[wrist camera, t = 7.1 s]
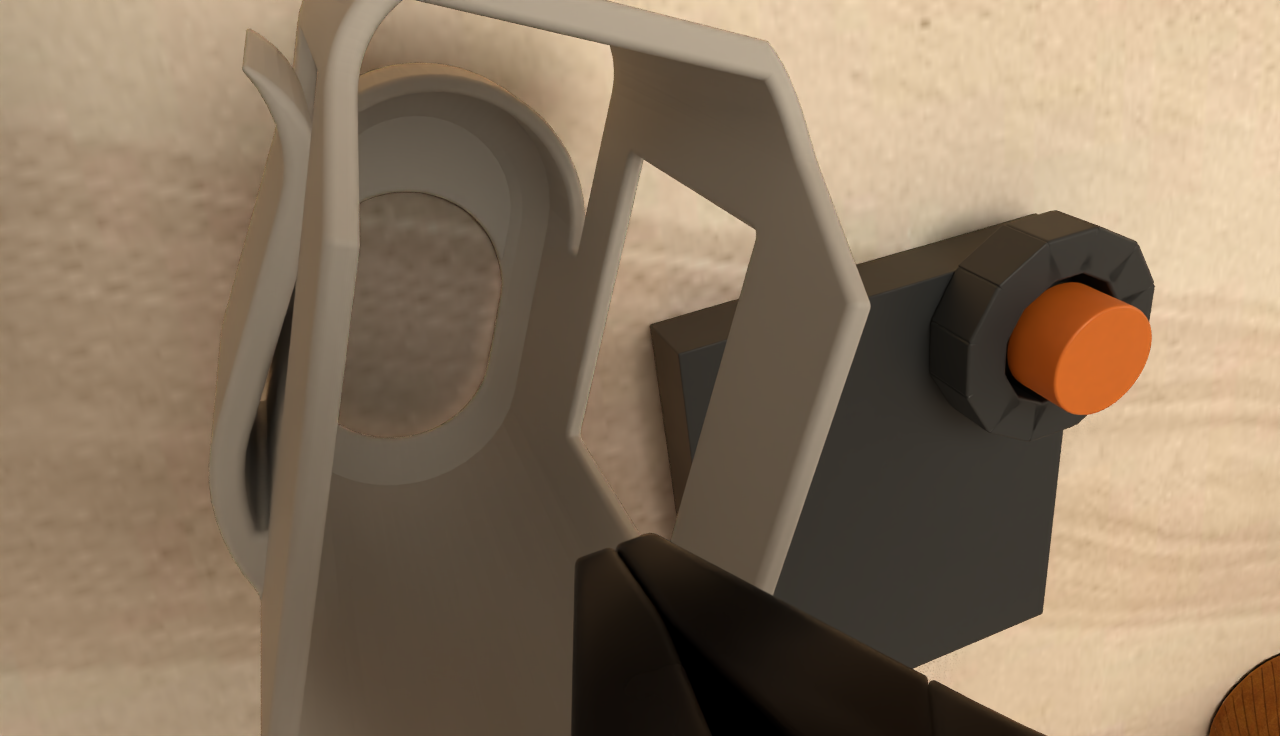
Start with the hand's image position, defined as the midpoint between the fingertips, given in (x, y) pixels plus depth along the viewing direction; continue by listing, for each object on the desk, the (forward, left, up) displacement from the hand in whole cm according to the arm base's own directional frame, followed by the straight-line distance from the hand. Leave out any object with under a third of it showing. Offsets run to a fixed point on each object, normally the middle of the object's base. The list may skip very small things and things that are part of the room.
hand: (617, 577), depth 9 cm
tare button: (+6, +15, -10) cm, 19 cm away
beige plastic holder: (0, 0, -13) cm, 13 cm away
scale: (+11, +11, -13) cm, 20 cm away
